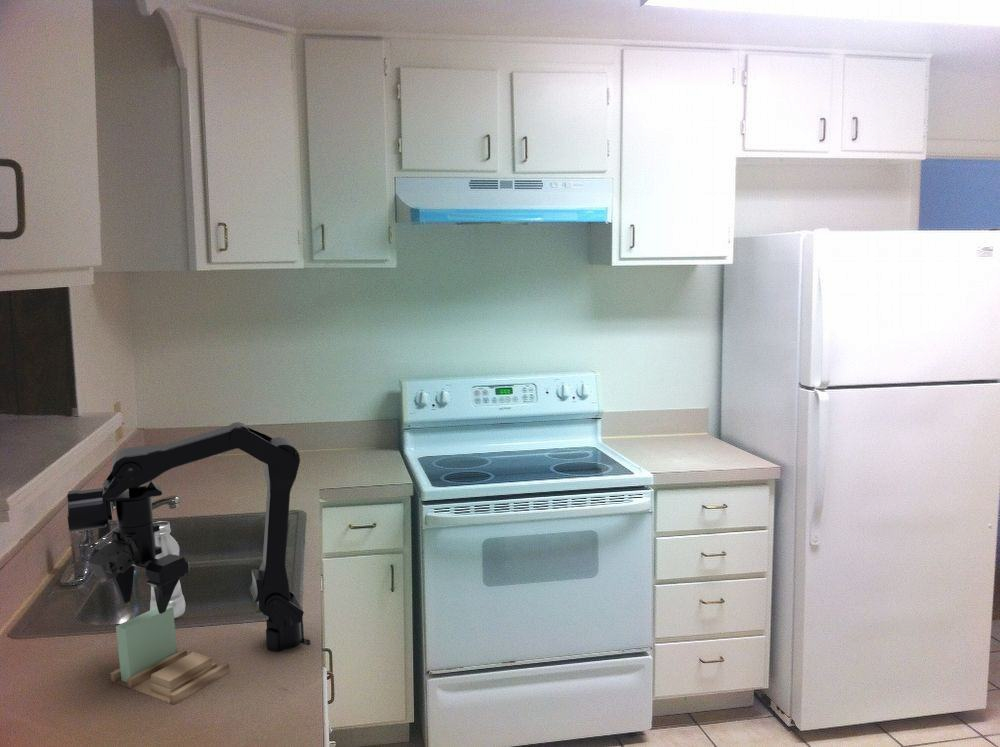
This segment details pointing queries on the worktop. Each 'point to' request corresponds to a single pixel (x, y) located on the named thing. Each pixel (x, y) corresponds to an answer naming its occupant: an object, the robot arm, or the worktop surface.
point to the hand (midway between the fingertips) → (144, 607)
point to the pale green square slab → (145, 641)
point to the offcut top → (181, 670)
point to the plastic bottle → (168, 547)
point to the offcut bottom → (166, 691)
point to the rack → (144, 677)
